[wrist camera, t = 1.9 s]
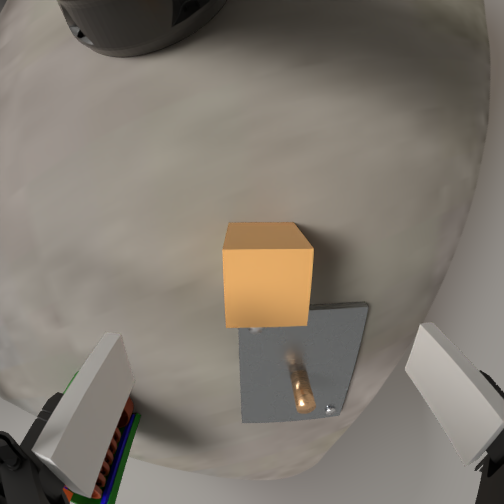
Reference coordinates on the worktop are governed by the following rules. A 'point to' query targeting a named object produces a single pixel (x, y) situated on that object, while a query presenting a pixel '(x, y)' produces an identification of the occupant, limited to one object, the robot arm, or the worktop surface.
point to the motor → (111, 460)
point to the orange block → (266, 275)
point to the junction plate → (300, 365)
